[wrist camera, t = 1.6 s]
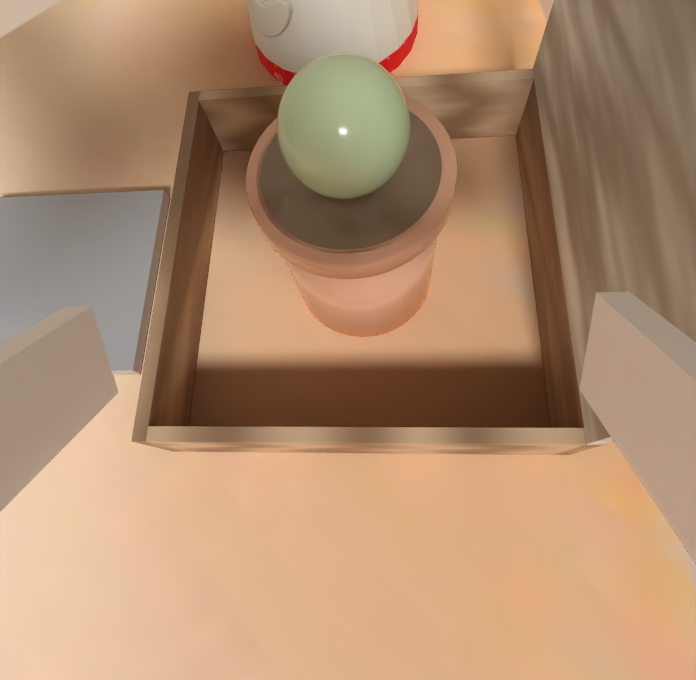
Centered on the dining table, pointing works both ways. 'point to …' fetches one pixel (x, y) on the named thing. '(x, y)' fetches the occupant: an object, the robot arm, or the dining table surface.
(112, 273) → the slate tile
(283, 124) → the seedling pot
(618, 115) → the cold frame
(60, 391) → the robot arm
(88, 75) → the dining table surface
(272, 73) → the kitchen timer
